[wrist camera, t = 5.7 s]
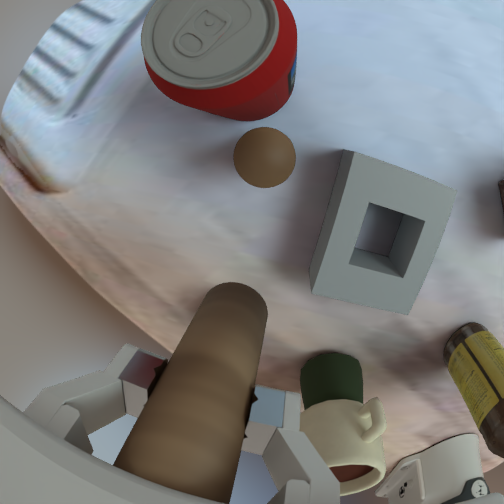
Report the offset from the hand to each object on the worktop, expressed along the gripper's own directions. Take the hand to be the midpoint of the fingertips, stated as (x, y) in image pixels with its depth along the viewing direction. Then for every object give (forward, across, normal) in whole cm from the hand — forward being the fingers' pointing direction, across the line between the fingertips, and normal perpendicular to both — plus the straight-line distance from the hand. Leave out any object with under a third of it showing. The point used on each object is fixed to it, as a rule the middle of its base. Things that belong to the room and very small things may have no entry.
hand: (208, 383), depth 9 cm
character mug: (+16, -10, +12) cm, 23 cm away
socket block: (+16, -8, -3) cm, 18 cm away
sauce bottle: (+17, -24, +6) cm, 30 cm away
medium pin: (+16, +1, -7) cm, 17 cm away
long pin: (+5, 0, 0) cm, 5 cm away
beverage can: (+16, +4, -12) cm, 20 cm away
